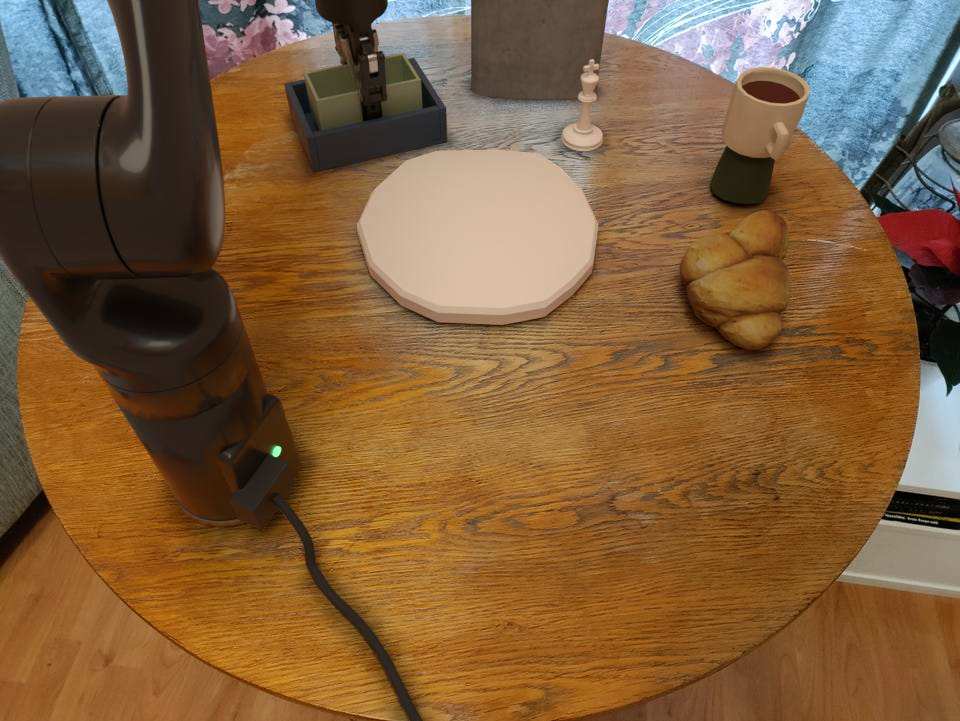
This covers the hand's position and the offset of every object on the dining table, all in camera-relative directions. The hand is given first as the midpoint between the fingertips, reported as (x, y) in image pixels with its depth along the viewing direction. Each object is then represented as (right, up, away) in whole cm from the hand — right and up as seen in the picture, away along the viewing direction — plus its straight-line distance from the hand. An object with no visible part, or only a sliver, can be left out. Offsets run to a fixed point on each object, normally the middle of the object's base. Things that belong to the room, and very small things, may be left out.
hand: (365, 110), depth 90 cm
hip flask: (+20, +5, +8) cm, 22 cm away
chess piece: (+26, -3, +1) cm, 26 cm away
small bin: (0, 0, +1) cm, 1 cm away
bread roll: (+37, -24, -16) cm, 47 cm away
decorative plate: (+13, -17, -10) cm, 24 cm away
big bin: (0, -2, +2) cm, 3 cm away
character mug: (+42, -11, -5) cm, 44 cm away
